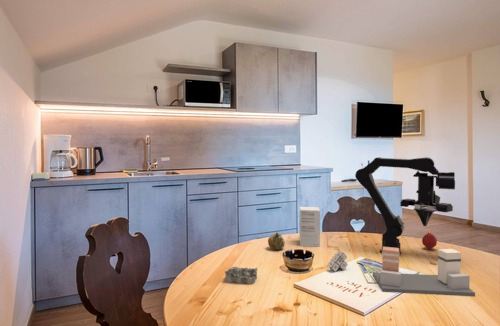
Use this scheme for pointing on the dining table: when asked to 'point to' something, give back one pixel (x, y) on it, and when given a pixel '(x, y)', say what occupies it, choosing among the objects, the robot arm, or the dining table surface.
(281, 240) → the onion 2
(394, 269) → the salmon pink block
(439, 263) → the white tall rectangular block
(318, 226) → the supplement box
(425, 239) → the onion
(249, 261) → the dining table surface
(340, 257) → the building blocks
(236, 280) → the egg carton
